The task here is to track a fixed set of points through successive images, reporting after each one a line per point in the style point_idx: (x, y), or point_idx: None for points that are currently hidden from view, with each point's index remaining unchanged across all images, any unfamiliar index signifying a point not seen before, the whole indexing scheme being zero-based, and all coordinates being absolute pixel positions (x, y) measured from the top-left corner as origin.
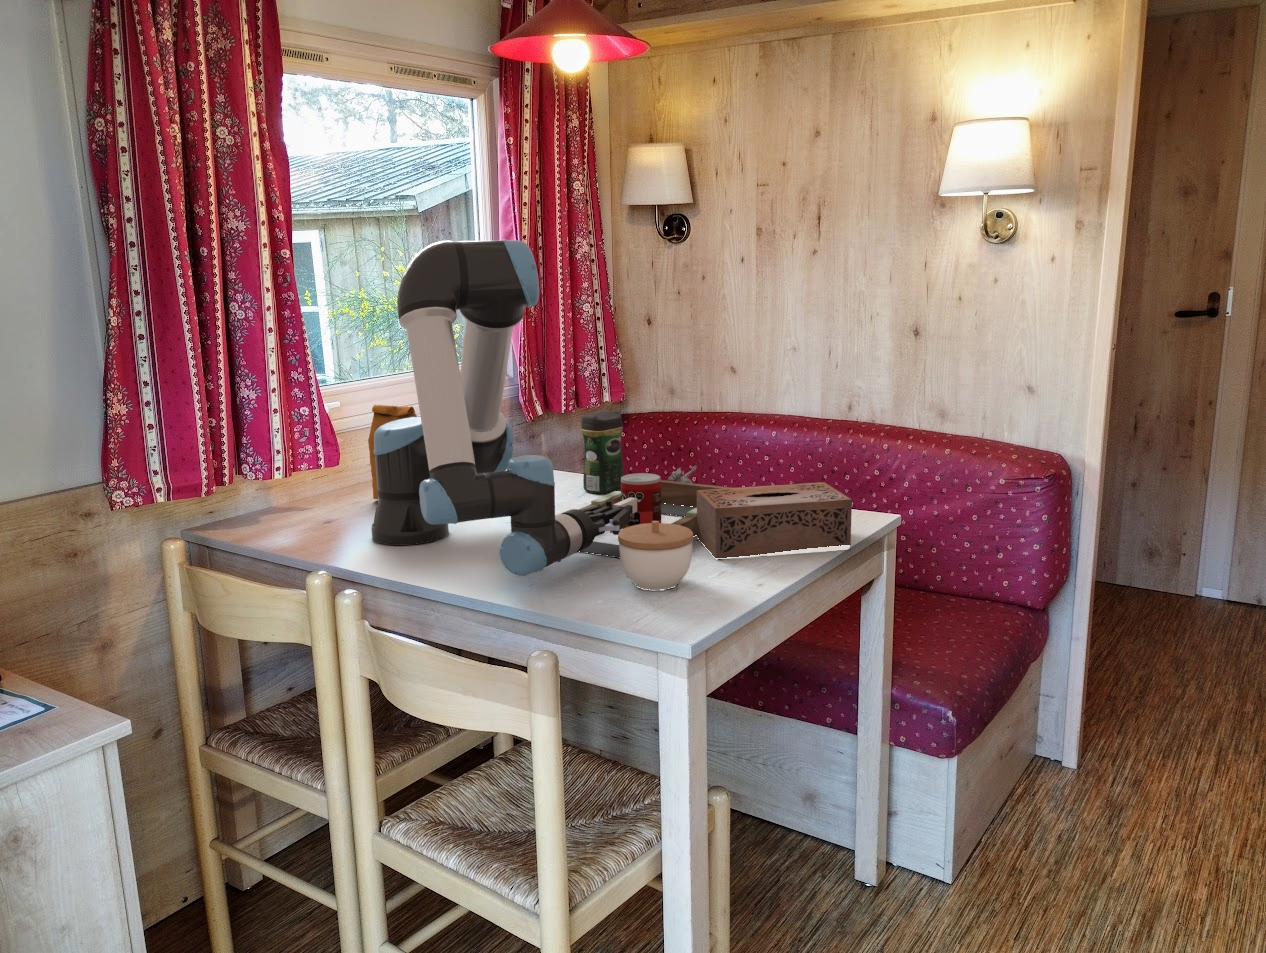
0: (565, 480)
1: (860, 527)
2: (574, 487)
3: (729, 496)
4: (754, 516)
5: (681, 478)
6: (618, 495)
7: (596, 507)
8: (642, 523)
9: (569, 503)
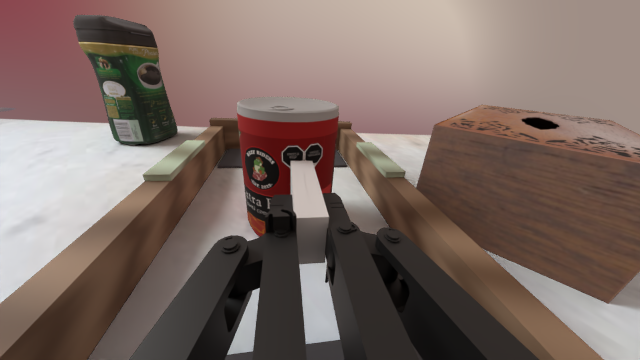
0: (82, 130)
1: None
2: (98, 138)
3: (529, 132)
4: None
5: None
6: (198, 148)
7: (230, 276)
8: None
9: (89, 169)
